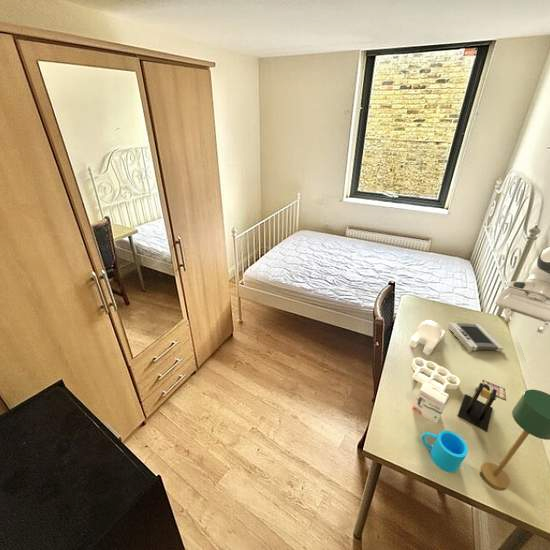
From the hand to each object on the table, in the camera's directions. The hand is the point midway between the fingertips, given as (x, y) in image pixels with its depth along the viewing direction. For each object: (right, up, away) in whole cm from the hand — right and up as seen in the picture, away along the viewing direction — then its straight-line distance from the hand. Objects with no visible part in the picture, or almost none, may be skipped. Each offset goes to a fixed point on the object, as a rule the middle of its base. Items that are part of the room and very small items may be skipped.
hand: (523, 326), depth 104 cm
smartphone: (0, -26, +14) cm, 30 cm away
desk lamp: (-23, -42, -16) cm, 51 cm away
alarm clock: (+8, -13, +38) cm, 41 cm away
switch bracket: (-16, -32, +2) cm, 36 cm away
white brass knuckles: (-24, -24, +16) cm, 38 cm away
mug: (-36, -39, -11) cm, 55 cm away
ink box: (-34, -32, +2) cm, 47 cm away
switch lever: (-14, -25, +1) cm, 28 cm away
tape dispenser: (-16, -13, +36) cm, 41 cm away
